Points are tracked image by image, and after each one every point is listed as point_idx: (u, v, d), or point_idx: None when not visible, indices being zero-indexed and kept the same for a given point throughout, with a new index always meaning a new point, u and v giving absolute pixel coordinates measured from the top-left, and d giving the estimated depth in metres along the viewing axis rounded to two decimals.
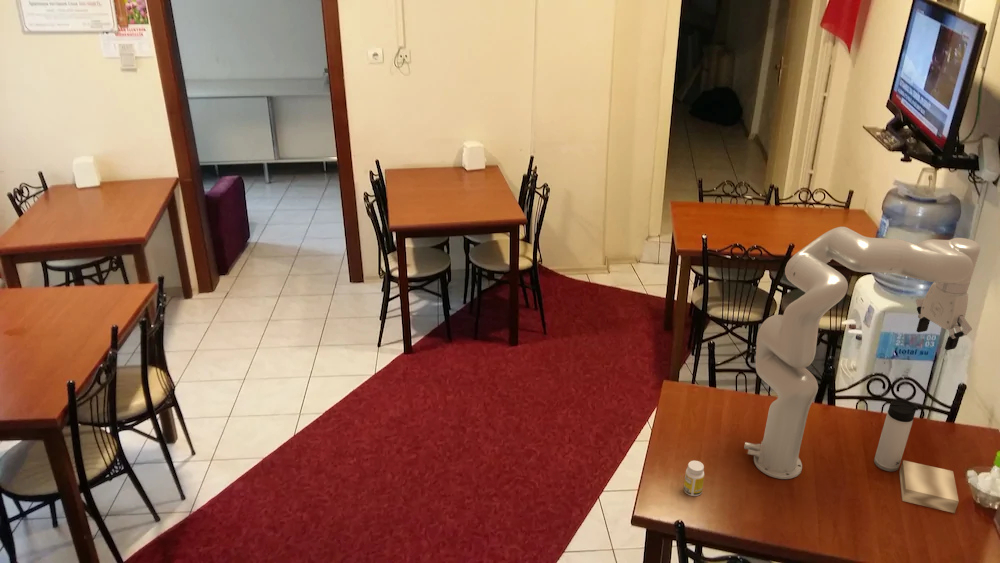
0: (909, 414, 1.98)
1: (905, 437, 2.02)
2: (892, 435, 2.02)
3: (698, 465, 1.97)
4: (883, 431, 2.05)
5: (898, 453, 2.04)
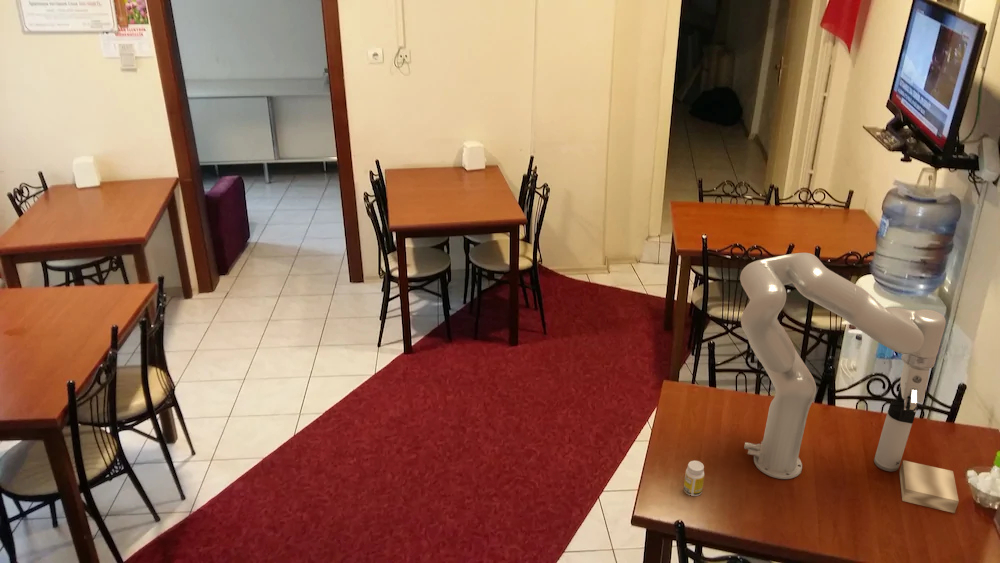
0: None
1: (905, 437, 2.02)
2: (892, 435, 2.02)
3: (698, 465, 1.97)
4: (883, 431, 2.05)
5: (898, 453, 2.04)
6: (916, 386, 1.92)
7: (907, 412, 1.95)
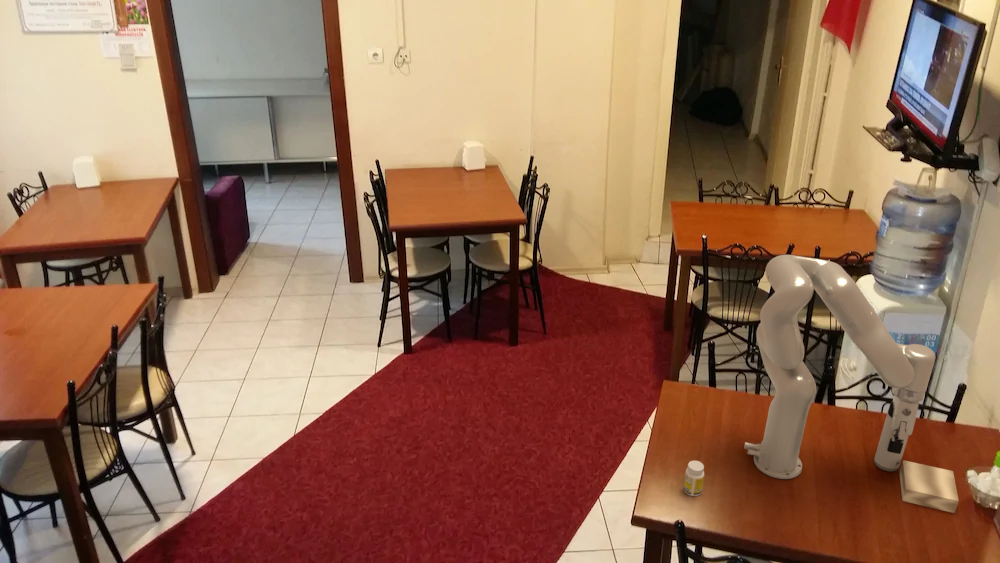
0: None
1: (905, 437, 2.02)
2: None
3: (698, 465, 1.97)
4: (883, 431, 2.05)
5: None
6: (905, 419, 1.97)
7: (895, 443, 2.01)
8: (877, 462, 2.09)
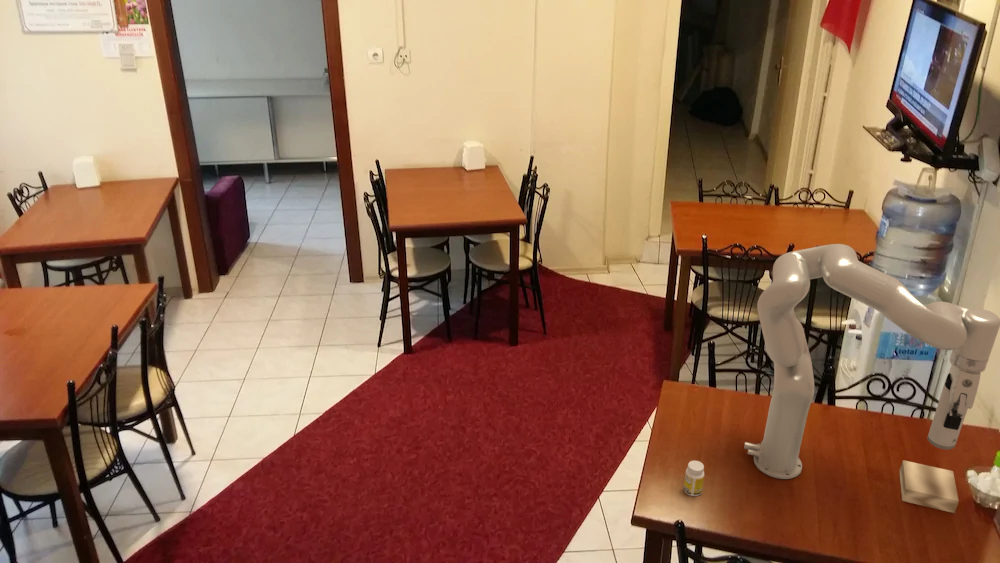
0: None
1: None
2: (949, 409, 1.86)
3: (698, 465, 1.97)
4: (939, 405, 1.88)
5: None
6: (966, 391, 1.80)
7: (953, 418, 1.84)
8: (931, 439, 1.92)
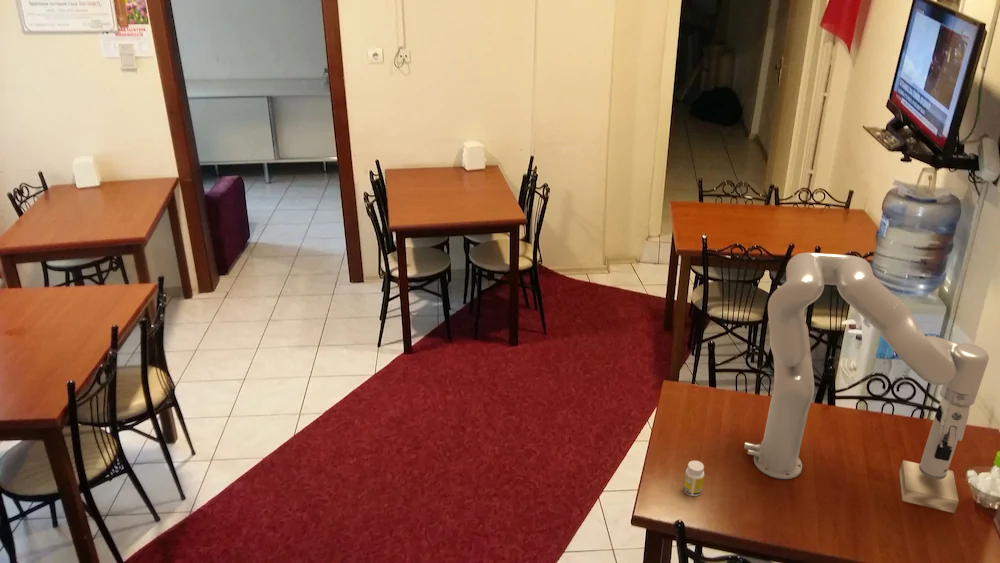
0: None
1: (954, 443, 1.89)
2: None
3: (698, 465, 1.97)
4: (930, 436, 1.92)
5: None
6: (955, 423, 1.84)
7: (943, 449, 1.89)
8: (923, 469, 1.96)
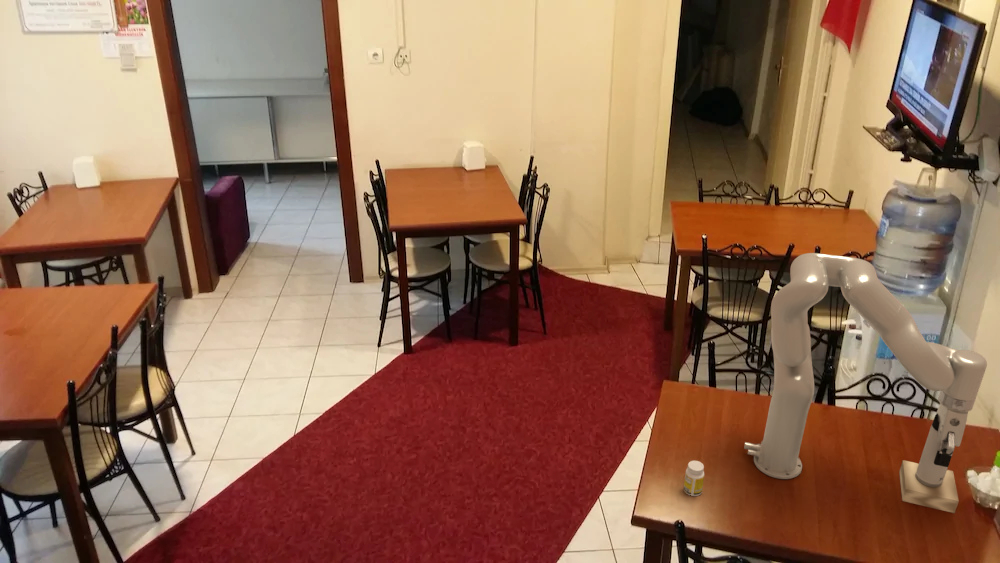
0: None
1: None
2: (936, 449, 1.91)
3: (698, 465, 1.97)
4: (926, 445, 1.94)
5: (942, 468, 1.93)
6: (953, 429, 1.85)
7: (943, 455, 1.88)
8: (919, 477, 1.97)
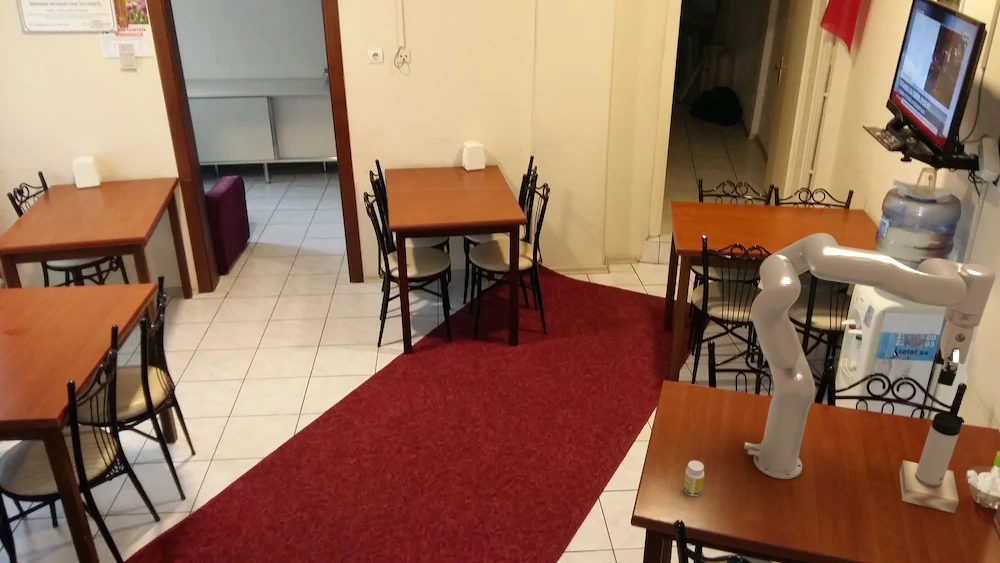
0: (955, 427, 1.87)
1: (950, 451, 1.91)
2: (936, 449, 1.91)
3: (698, 465, 1.97)
4: (926, 445, 1.94)
5: (942, 468, 1.93)
6: (959, 345, 1.80)
7: (947, 373, 1.83)
8: (919, 477, 1.97)
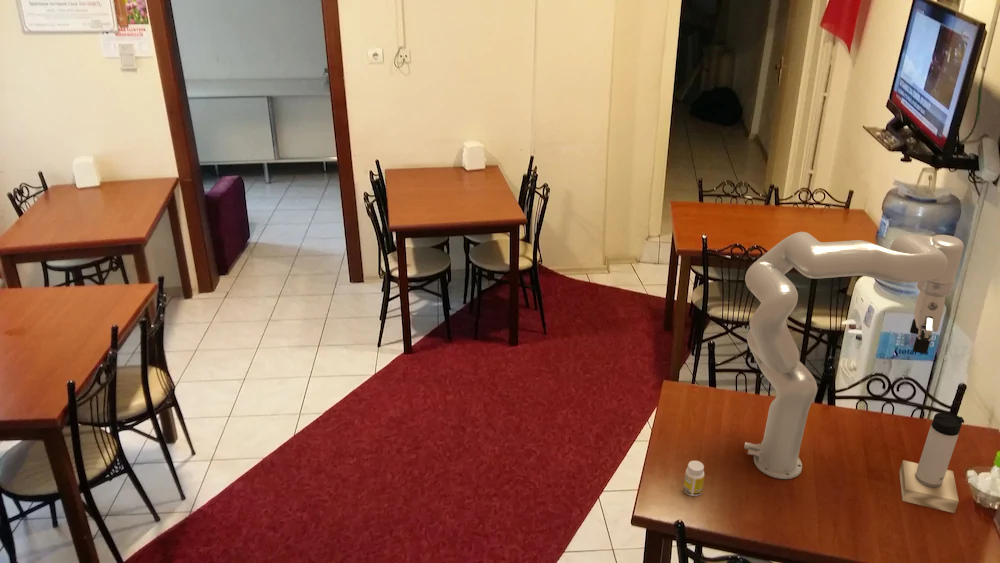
0: (955, 427, 1.87)
1: (950, 451, 1.91)
2: (936, 449, 1.91)
3: (698, 465, 1.97)
4: (926, 445, 1.94)
5: (942, 468, 1.93)
6: (931, 314, 1.88)
7: (921, 341, 1.91)
8: (919, 477, 1.97)
